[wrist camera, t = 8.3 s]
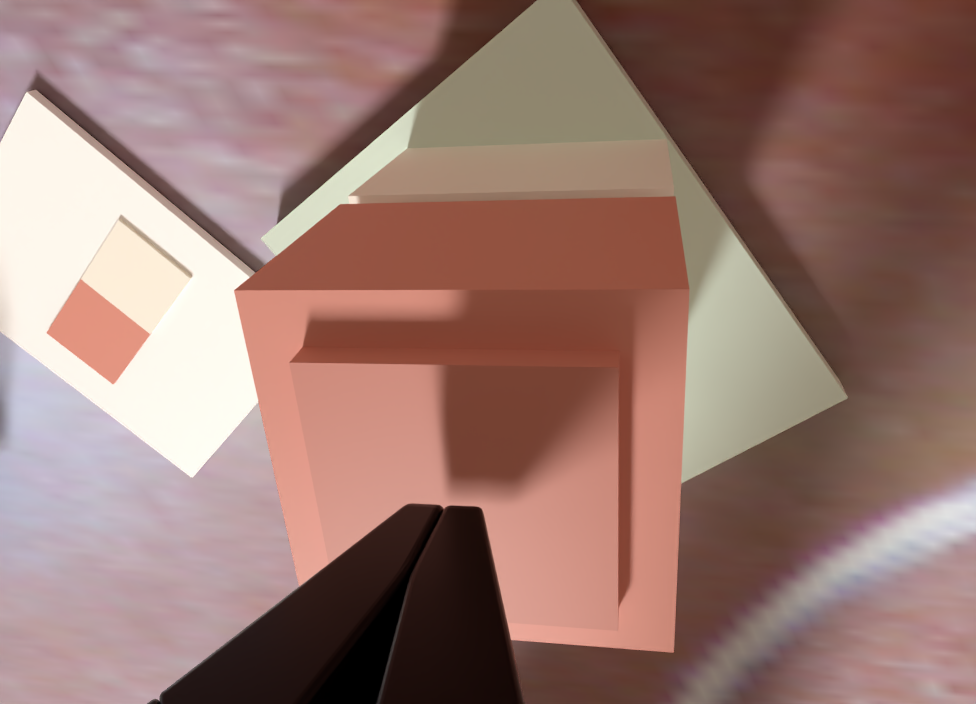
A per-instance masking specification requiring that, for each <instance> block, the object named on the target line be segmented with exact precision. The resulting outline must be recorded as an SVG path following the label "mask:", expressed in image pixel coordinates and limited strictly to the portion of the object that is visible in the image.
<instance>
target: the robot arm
mask: <svg viewBox="0 0 976 704" xmlns="http://www.w3.org/2000/svg"><path fill="white" fill-rule="evenodd" d="M147 704H525V701H524V696H523V692H522V687H521V683H520V678H519V674H518V669H517V664H516V660H515V655H514V651H513V646H512V641H511V637H510V632H509V628H508V623H507V618H506V614H505V609H504V605H503V600H502V595H501V591H500V586H499V582H498V577H497V572H496V568H495V563H494V559H493V554H492V550H491V545H490V540H489V536H488V531H487V527H486V522H485V517H484V513H483V510H482V509H481V508H480V507H477V506H457V505H450V506H447V507H445V508H443V507H442V506H440V505H436V504H416V503H410V504H407V505H405V506H403V507H402V508H400V509H399V510H398V511H396V512H395V513H394V514H393V515H391V516H390V517H389V518H387V519H386V520H385V521H383V522H382V523H381V524H380V525H378V526H377V527H376V528H374V529H373V530H372V531H371V532H369V533H368V534H367V535H365V536H364V537H363V538H361V539H360V540H359V541H358V542H356V543H355V544H354V545H352V546H351V547H350V548H349V549H347V550H346V551H345V552H343V553H342V554H341V555H339V556H338V557H337V558H336V559H334V560H333V561H332V562H330V563H329V564H328V565H326V566H325V567H324V568H323V569H321V570H320V571H319V572H317V573H316V574H315V575H314V576H312V577H311V578H310V579H308V580H307V581H306V582H304V583H303V584H302V585H301V586H299V587H298V588H297V589H295V590H294V591H293V592H292V593H290V594H289V595H288V596H286V597H285V598H284V599H282V600H281V601H280V602H279V603H277V604H276V605H275V606H273V607H272V608H271V609H269V610H268V611H267V612H266V613H264V614H263V615H262V616H260V617H259V618H258V619H257V620H255V621H254V622H253V623H251V624H250V625H249V626H247V627H246V628H245V629H244V630H242V631H241V632H240V633H238V634H237V635H236V636H235V637H233V638H232V639H231V640H229V641H228V642H227V643H225V644H224V645H223V646H222V647H220V648H219V649H218V650H216V651H215V652H214V653H213V654H211V655H210V656H209V657H207V658H206V659H205V660H203V661H202V662H201V663H200V664H198V665H197V666H196V667H194V668H193V669H192V670H190V671H189V672H188V673H187V674H185V675H184V676H183V677H181V678H180V679H179V680H178V681H176V682H175V683H174V684H172V685H171V686H170V687H168V688H167V689H166V690H165V691H163V692H162V693H161V695H160V701H159V700H157V699H153V700H151V701H150V702H149V703H147Z"/></svg>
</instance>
